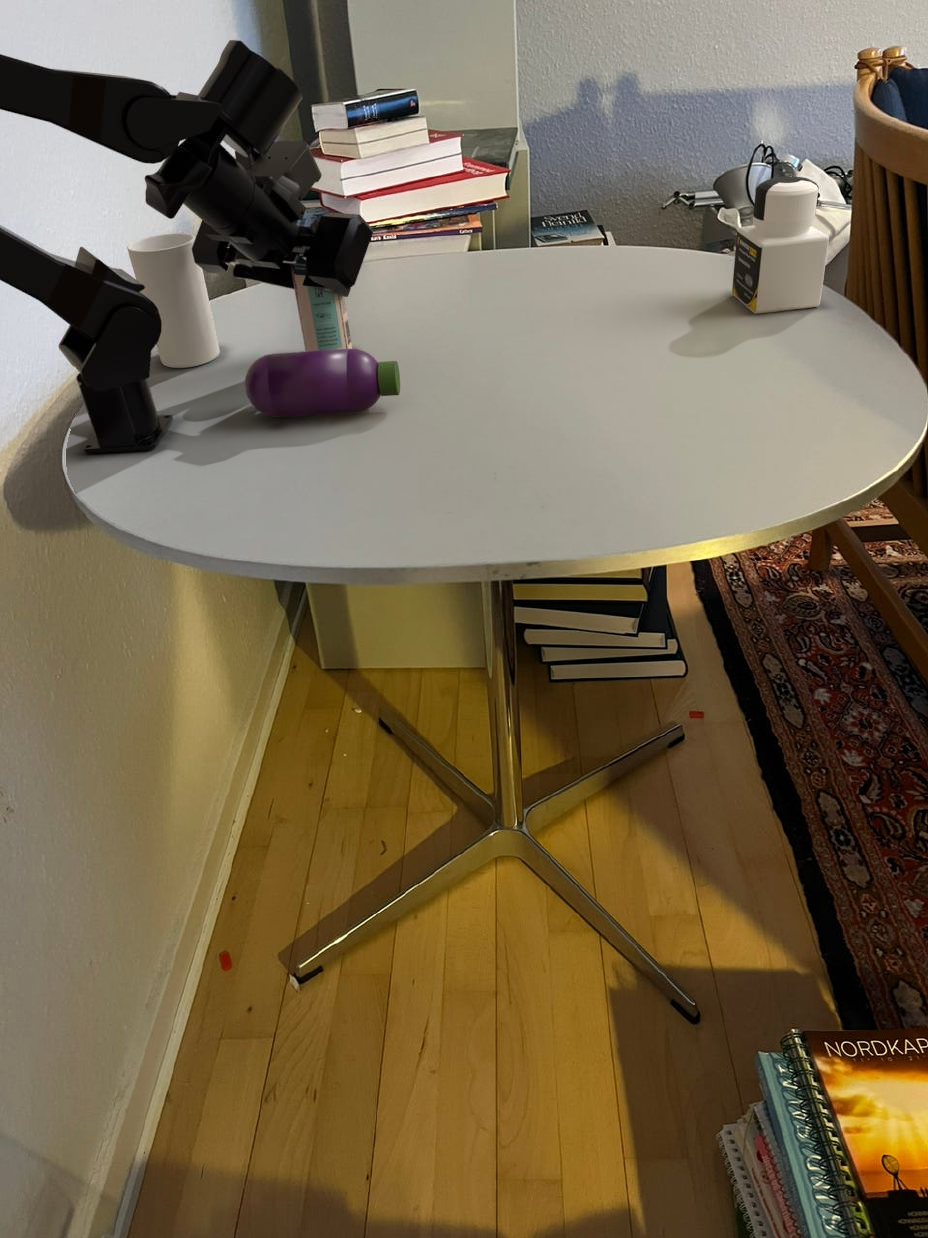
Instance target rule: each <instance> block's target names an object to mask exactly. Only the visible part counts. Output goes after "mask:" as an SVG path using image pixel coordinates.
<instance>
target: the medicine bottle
mask: <svg viewBox="0 0 928 1238" xmlns="http://www.w3.org/2000/svg"><path fill="white" fill-rule="evenodd" d="M819 189H820V186H819V185H818V184H817V182H815V181H813V180H812V179H809V178H807V177H803V176H779V177H773V178H772V177H771V178H768V179H766V180H764V181H762V182H760V183H759V184H758V185H757V186H756V188H755V192H754V202H753V203H754V204H753V213H752V225H747V226H740V227H738V228H737V230H736V239H735V251H734V252H735V253H734V265H733V273H732V275H733V276H732V286H731V287H732V288H731V294H732V296H734V297H735V298H736V299H737V300H738V301H740V302H741V303H742V304H743V305H744V306H745V307H746V308H747V309H748V310H749V311H751V312H752V313H753V314H754V315H760V314H766V313H774V312H775V313H776V312H783V311H792V310H801V309H809V308H817V307H819V306H820V304H821V299H822V293H823V285H824V278H825V271H826V265H827V264H826V263H827V257H828V251H829V250H828V249H829V243H830V237H829V236H828V235H827V234H825V233H824V232H822V231H820V230H819V229H817V228H815V227H814V226H813V225H814V224H815V221H816V214H817V213H816V212H817V205H818V197H819V192H820V191H819Z"/></svg>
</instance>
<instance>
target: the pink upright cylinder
mask: <svg viewBox="0 0 928 1238" xmlns="http://www.w3.org/2000/svg"><path fill="white" fill-rule="evenodd" d="M302 257H303V255H302V254H299V259H298V261H297V263H295V264H293V263H290V268H291V273H292V279H293V284H294V289H293V291H294V294H295V301H296V306H297V312H298V318H299V321H300V322H299V323H300V328H301V334H302V341H303V345H304V352H307V351H323V350H338V349H353V344H352V338H351V332H350V325H349V318H348V311H347V307H346V306H347V304H346V297H343V296H339V295H335V294H331V293H328V292H324V291H320V290H317V289H313V288H309V287H305V286H303V285H302V284H303V282H304V279H305V276H306V273H307V269H306V263H305V259H303V258H302Z"/></svg>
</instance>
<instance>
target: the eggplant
mask: <svg viewBox="0 0 928 1238" xmlns="http://www.w3.org/2000/svg"><path fill="white" fill-rule="evenodd" d="M244 389H245V393H246V396H247V399H248V400H249V402H250V404H251V405H252V406H253V407H254V409H256V410H257V411H258V412H259V413H261V414H263V415H265V416H269V417H273V418H291V417H305V416H308V417H309V416H322V415H323V416H324V415H338V414H355V413H362V412H364V411H368V409H370V408H371V407H373V406H374V405H376V403H377V402H378V401H379V399H380V398H381V397H393V396H400V394H401V376H400V367H399V363H398V361H397V360H387V361H377V359H376V358H375V357H374V356H373V355H371V354H370V353H368V352H366V351H365V350H362V349H358V348H352V349H338V350H323V351H307V352H305V351H295V352H279V353H270V354H266V355H263V356H260V357H258V358H257V359H256V360H254V361H253V363H252V364H251V365H250V366H249V368H248V370H247V372H246V374H245V379H244Z"/></svg>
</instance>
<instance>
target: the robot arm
mask: <svg viewBox="0 0 928 1238" xmlns="http://www.w3.org/2000/svg"><path fill="white" fill-rule="evenodd" d="M302 93H303V92H302V91H301V89H300V88H299V87H298V85H297V83H296V82H294V80H293V79H292V78H291V77H290V76H289V75H288V73H286V72H285V71H284V70H283V69H281V68H280V67H275V66H274V64H272V63H271V62H269V61H268V60H267V59H265V58H264V57H263V56H261V55H260V54H258V53H256V52H255V51H254V50H251V49H250V48H249V47H248V46H247V45H246V44H245V43H244V42H243V41H242V40H238V39H230V40H228V42H227V43H226V45H225V47H224V48H223V50H222V52H221V53H220V57H219V59H218V62H217V64H216V66H215V68H214V69H213V71H212V72H211V74H210V75H209V77H208V79H207V80H206V82H205V83H204V85H203V87H202V88H201V89H200V91H199V92H198V94H193V93H188V92H183V91H178V93H177V94H171V93H170V91H168V90H167V89H166V88H165V87H164V86H162V85H159V84H158V83H155V82H153V81H151V80H146V79H141V78H135V77H131V76H126V75H119V74H118V75H117V74H108V73H99V72H92V71H91V72H90V71H78V70H69V69H58V68H49V67H45V66H42V65H39V64H35V63H32V62H28V61H25V60H23V59H18V58H14V57H12V56H8V55H4V54H1V53H0V110H1V111H3V112H4V111H5V112H8V113H12V114H16V115H20V116H24V117H28V118H31V119H35V120H40V121H43V122H46V123H47V122H48V123H50V124H52V125H54V126H56V127H59V128H61V129H63V130H66V131H68V132H70V133H72V134H74V135H77V136H79V137H82V138H84V139H85V140H87V141H89V142H92V143H94V144H97V145H99V146H100V147H104V148H105V149H108V150H110V151H111V152H115V153H117V154H119V155H122V156H124V157H126V158H129V159H131V160H134V161H137V162H139V163H142V164H149V165H150V164H152V165H154V164H159V163H162V164H161V166H160V167H159V168H158V170H157V171H156V172H154V173H151V174H146V175H145V176H144V182H145V185H146V188H145V199H144V200H145V204H146V205H147V206H149V207H150V208H152V209H154V210H155V211H156V212H158V213H160V214H161V215H162V216H164V217H166V218H168V219H169V220H173V219H175V218H176V215H177V214H178V212H179V211H180V210H181V208H182V206H185V207H186V208H187V209H189V210H190V212H192V213H193V214H194V215H196V216H197V217H198V218H199V219H200V220H201V221H200V225H199V228H198V230H197V233H196V235H195V241H194V244H193V246H192V253H193V257H194V262H195V263H196V264H197V265H198V266H200V267H201V268H202V270H203V271H205V272H206V273H207V274H215V275H223V276H225V275H227V274H228V272H229V267H230V266H229V265H228V264H230V265H232V266H233V270H232V276H233V277H235V278H236V279H240V280H246V281H251V282H256V283H260V284H265V285H270V286H275V287H279V288H280V287H281V288H286V289H290V290H294V284H293V279H292V273H291V268H290V263H293V264H295V263H297V261H298V259H299V254H302V255H303V257H302V258H303V259H305V263H306V269H307V273H306V276H305V279H304V282H303V284H302V285H303V286H305V287H309V288H313V289H317V290H320V291H324V292H328V293H331V294H335V295H339V296H343V297H345V298H348V297H349V295H350V292H351V290H352V287H353V286H355V285H356V282H357V280H358V276H359V274H360V271H361V268H362V265H363V263H364V260H365V257H366V255H367V254H366V253H367V251H368V249H369V245H370V243H371V239H372V237H373V234H374V230H373V228H372V227H371V225H370V224H369V223H368V222H367V221H366V220H365V218H363V217H362V215H361V214H358V213H357V214H356V213H341V212H328V213H325V214H323V215H321V217H320V219H319V220H314V221H313V222H312V223H311V224H310V225H309V226H303V225H302V226H301V225H298V222H299V221H303V219H304V216H305V213H306V210H307V207H306V206H305V205H304V203H302V202H301V201H302V200H303V199H304V198H305V197H306V195H307V194H308V192H310V190H311V189H312V188H313V186H314V185H315V184H316V183H319V181H320V180H321V178H322V172H321V170H320V168H319V166H318V164H317V161H316V159H315V158H314V157H315V156H314V155H313V153H312V150H311V149H310V146H309V144H308V143H307V142H306V141H289V140H288V141H287V140H278V141H277V140H276V139H277V138H278V137H279V135H280V134H281V132H282V131H283V129H284V127H285V125H286V124H287V122H288V121H289V120H290V118H291V117H292V115H293V113H295V110H296V109H297V107H298V105H299V104H300V102H301V101H302V100H303V94H302ZM180 142H181V143H180ZM222 142H224V143H225V144H226V145H227V146H229V147H230V148H231V149H232V150H234V156H235V157H234V156H233V154H231V152H229V151H228V150H227V149H226V148H225V147H224V146H223V145H222ZM0 282H3V283H5V284H6V285H9V286H11V287H13V288H14V289H16V290H18V291H20V292H21V293H24V294H25V295H28V296H29V297H31V298H32V299H35V300H37V301H39V302H40V303H41V304H43V305H44V306H45V307H46V308H47V309H49V310H50V311H52V312H53V313H54V314H55V315H56V316H58V317H59V318H61V319H62V320H63V321H64V322H66V323H67V324H68V325H69V326H68V327H67V329H66V331H65V333H64V335H63V336H62V338H61V339H60V341H59V343H58V350H59V351H60V352H61V353H62V355H63V356H64V357H65V358H66V359H67V361H68V362H69V363H70V365H71V366H72V367H74V368H75V369H76V370H77V372H79V373H78V374H77V375H76V377H75V379H76V382H77V385H78V388H79V391H80V394H81V397H82V399H83V400H82V401H83V403H84V406H85V409H86V413H87V415H88V417H89V421H90V424H91V427H92V429H93V432H94V433H93V434H92V435H91V437H89V439H88V440H87V441H86V442H85V444H84V445H83V446H82V450H83V452H84V454H97V453H99V454H100V453H116V452H128V451H129V452H131V451H132V452H133V451H146V450H147V451H150V450H153V449H155V448H156V447H157V446H158V444H159V443H160V441H161V440H162V438H163V437H164V435H165V434H166V432H167V431H168V429H169V428H170V427H171V425H172V423H173V422H174V417H173V416H174V415H172V414H158V411H157V407H156V403H155V401H154V398H153V393H152V391H151V387H150V384H149V380H148V379H149V378H150V376H151V375H150V374H151V373H150V371H151V362H152V360H151V359H152V351H153V350H154V349H155V347H156V344H157V343H158V341H159V338H160V335H161V328H162V321H161V318H160V314H159V311H158V308H157V307H156V305H155V304H154V303H153V302H152V301H151V300H150V299H148V298H147V297H146V296H145V295H143V294H142V293H141V292H140V291H142V290H144V289H145V286H144V285H143V284H141V283H140V282H139V281H137V280H136V277H135V278H134V276H132V275H131V274H129V273H128V272H127V271H125V270H124V269H122V268H116V267H112V266H110V265H107V264H106V263H105V262H104V261H102V260H101V259H99V258H98V257H97V256H95V255H94V254H93V253H92V252H90V251H88V250H87V249H86V248H85V247H83V246H80V247H79V250H78V252H77V255H76V259H75V260H73V259H70V258H66V257H63V256H59V255H56V254H55V253H54V254H53V253H51V252H49V251H47V250H45V249H44V248H42V247H40V246H38V245H37V244H35V243H33V242H32V241H29V240H28V239H26V238H24V237H22V236H20V235H19V234H17V233H15V232H13V230H10V229H9V228H7V227H5V226H3V225H1V224H0Z"/></svg>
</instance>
